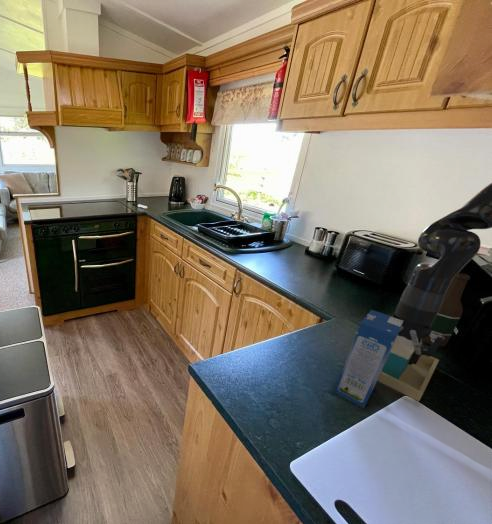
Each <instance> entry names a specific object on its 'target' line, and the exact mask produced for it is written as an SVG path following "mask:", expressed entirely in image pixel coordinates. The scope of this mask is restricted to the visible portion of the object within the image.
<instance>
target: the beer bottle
mask: <svg viewBox="0 0 492 524" xmlns="http://www.w3.org/2000/svg"><path fill="white" fill-rule="evenodd" d="M470 279H471V276H470V275H468V274H466V273H462V272H459V273H458V274H457V275H456V276H455V277H454V278H453V279H452V281H451V284H450V286H449V288H448V290H447V292H446V294H445V297H444V301H443V303H442V305H441V308H440V310H439V311H438V313H437V316H436V318H435V320H434V322H433V324H432V326H431V332H433V333H435V334H437V335H443V336H444V337H445V339H444V341H443V342H442V343H441V345H440V346H439V347H438V348H440V347H442V348H444V347H446V346H447V344H448V343H449V340H450V339H451V336H452V335H453V333H454V331H455V329H456V327H457V325H458V324H459V321H460V319H461V317H462V315H463V311H464V309H463V305H462V302H461V299H462V295H463V293H464V291H465V288H466V286H467V283H468V281H470ZM421 339H422V343H425V344H428V345H429V346H430V345H431V344H432V343H433V342H431V340H430V339H431V337H430V336H426V337H423V338H421Z"/></svg>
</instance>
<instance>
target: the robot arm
mask: <svg viewBox="0 0 492 524" xmlns="http://www.w3.org/2000/svg"><path fill="white" fill-rule="evenodd" d="M488 229H492V182H491V183H489V184H487V185H486V186H485V187H483V188H482V189H481V190H480V191H479V192H477V193H476V194H475V195H474V196H473V197H472V198H471V199H469V200H468V201H467V202H465V204H463V206H461V207H460V208H458V209H456V210H453V211H452V212H450V213H448V214H447V215H445V216H443V217H441V218H440V219H438V220H436V221H434V222H432V223H431V224H429V225H428V226H426V227H425V229H423V230H422V232H420V235H418V239H417V244H418V247H419V248H420V249H421V250H422V251H424V252H427V253H430V254H432V255H435V256H439V259H438V260H437V261H436V262H435V263H433V262H421V263H418V264H417V265H416V266H415V268H414V270H413V272H412V273H411V277H410V279H409V281H408V283H407V285H406V287H405V288H404V289H403V292H402V294H401V296H400V299H399V301H398V303H397V306H396V308H395V311H394V313H393V314H392V315H390V316H391V317H394V318H397V319H400V320H403V321H404V322H403V324H402V326H401V329H400V331H399V333H398V336H401V337H404V338H406V339H408V340H410V341H411V340H412V343H413V346H414V350H415V351H414V353H413V355H412V357H411V359H410V361H409V363H408V364H410V365H412V364H416V363H417V362H418V360H419V358H420V356H421V355H426V356H428V357H430V356H431V357H433V356H432V355H433V354H434V353H435V352H436V351H437V350H438V349H439V348H440V347H439V346H440V345H441V343H442V342H443V341H444V339H445V337H444V336H443V335H437V334H435V333H433V332H431V326H432V324H433V322H434V320H435V318H436V316H437V313H438V311H439V310H440V308H441V305H442V303H443V301H444V297H445V294H446V292H447V290H448V288H449V286H450V284H451V281H452V279H453V278H454V277H455V276H456V275H457V274H458V273H461V271H462V269H464V267H465V266H466V265H468V264H469V263H470V262H471V261H472V260H473V259H474V258H475V256H477V254H478V253H479V252H480V249H481V243H482V242H481V238H480V236H479V235H478V234H477V233H475V232H473V231H471V230H488ZM381 313H382V312H381ZM382 314H384V313H382ZM426 336H430V337H431V339H430V340H431V342H433V343H432V344H431V345H430V344H429V347H427V348H424V347H423V341H422V339H421V338H423V337H426Z"/></svg>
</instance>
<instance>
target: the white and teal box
mask: <svg viewBox="0 0 492 524" xmlns="http://www.w3.org/2000/svg"><path fill="white" fill-rule="evenodd" d="M414 351H415V350H414V346H413V343H412V340H411V341H410V340H408V339H406V338H404V337H401V336H398V335H397V338H396V340H395V342H394V344H393V347H392V349H391V351H390V353H389V355H388V358H387V360H386V362H385V364H384V367H383V369H382V371H381V372H383V373H386V374H388V375H390V376H392V377H394V378H396V379H398V380H399V378H400V377H401V375H402V373H403V372H404V370H405V369H406V367H407V366H408V363H409V361H410V359H411V357H412V355H413V353H414Z"/></svg>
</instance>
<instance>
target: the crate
mask: <svg viewBox="0 0 492 524" xmlns="http://www.w3.org/2000/svg"><path fill="white" fill-rule="evenodd" d="M439 362H440V359H438V358H436V357H433V356H430V357H428V356H426V355H421V356H420V358H419V360H418V362H417V363H416V364H412V365H410V364H408V366H407V367H406V369H405V370H404V372H403V373H402V375H401V377H400V378H399V380H398V379H396V378H394V377H392V376H390V375H388V374H386V373H383V372H381V373H380V376H379V378H378V380H377V382H379V383H381V384H383V385H385V386H387V387H389V388H391V389H393V390H395V391H397V392H399V393H401V394H403V395H404V396H407V397H409V398H410V399H413V400H414V401H416V402H420V400H421V398H422V397H423V396H424V393H425V391H426V389H427V387H428V384H429V383H430V380H431V378H432V377H433V374H434V372H435V370H436V368H437V366H438V364H439Z"/></svg>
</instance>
